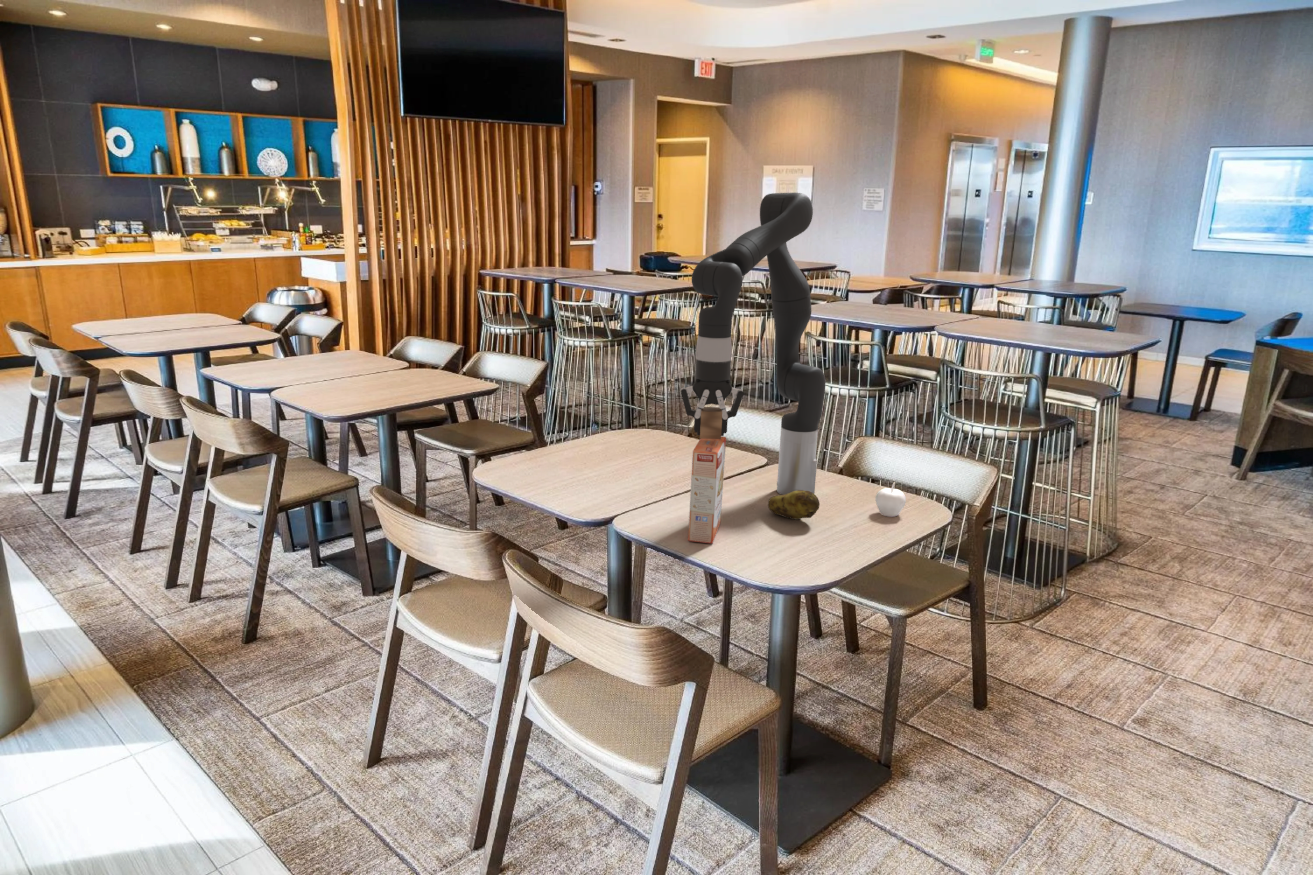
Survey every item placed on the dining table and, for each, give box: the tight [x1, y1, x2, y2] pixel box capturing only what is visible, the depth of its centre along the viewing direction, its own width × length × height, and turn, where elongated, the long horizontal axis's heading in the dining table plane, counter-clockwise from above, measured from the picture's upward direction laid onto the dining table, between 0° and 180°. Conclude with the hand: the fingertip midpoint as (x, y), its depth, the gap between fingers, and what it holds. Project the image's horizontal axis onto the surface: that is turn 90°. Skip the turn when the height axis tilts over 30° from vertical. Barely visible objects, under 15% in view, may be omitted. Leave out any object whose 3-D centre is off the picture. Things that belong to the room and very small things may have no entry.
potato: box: [767, 490, 820, 520], centre depth 203 cm, size 8×13×8 cm, turn 25°
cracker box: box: [687, 436, 727, 545], centre depth 192 cm, size 14×6×21 cm, turn 168°
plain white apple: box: [875, 481, 907, 518], centre depth 209 cm, size 7×7×8 cm
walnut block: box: [699, 406, 722, 440], centre depth 188 cm, size 4×4×6 cm
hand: (710, 434), depth 189 cm, fingers closed on walnut block, 4 cm apart
